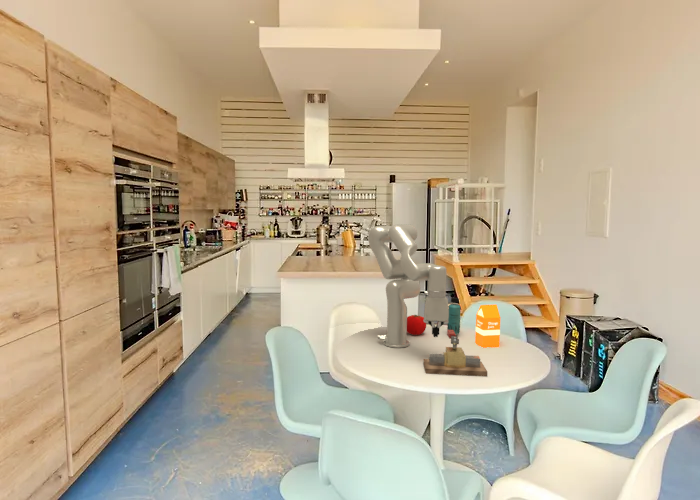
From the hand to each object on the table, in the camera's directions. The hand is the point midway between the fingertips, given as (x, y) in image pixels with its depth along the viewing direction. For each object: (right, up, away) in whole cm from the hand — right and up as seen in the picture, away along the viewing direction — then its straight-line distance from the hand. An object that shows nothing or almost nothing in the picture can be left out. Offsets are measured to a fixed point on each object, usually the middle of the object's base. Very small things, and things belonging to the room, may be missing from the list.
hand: (435, 336), depth 191 cm
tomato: (-3, -7, +42) cm, 43 cm away
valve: (+5, -10, -11) cm, 15 cm away
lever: (+6, 0, -5) cm, 8 cm away
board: (+5, -12, -11) cm, 17 cm away
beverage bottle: (+17, -8, +40) cm, 45 cm away
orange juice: (+30, -9, +24) cm, 40 cm away
